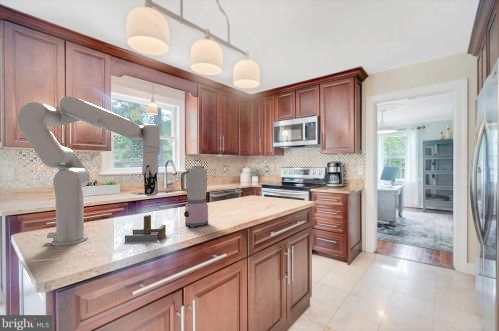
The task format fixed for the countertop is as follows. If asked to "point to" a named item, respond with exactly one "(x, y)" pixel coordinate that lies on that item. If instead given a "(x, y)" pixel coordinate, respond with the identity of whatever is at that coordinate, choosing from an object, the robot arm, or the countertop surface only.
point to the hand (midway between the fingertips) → (151, 189)
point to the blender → (195, 196)
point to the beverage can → (154, 186)
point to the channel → (141, 236)
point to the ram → (147, 228)
